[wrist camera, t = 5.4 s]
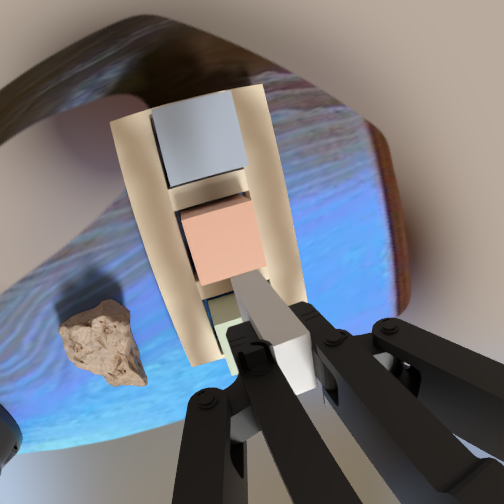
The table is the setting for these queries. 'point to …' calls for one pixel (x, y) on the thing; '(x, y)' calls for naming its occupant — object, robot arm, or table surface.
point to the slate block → (199, 137)
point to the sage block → (225, 323)
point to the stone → (104, 344)
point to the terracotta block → (223, 238)
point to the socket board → (200, 191)
